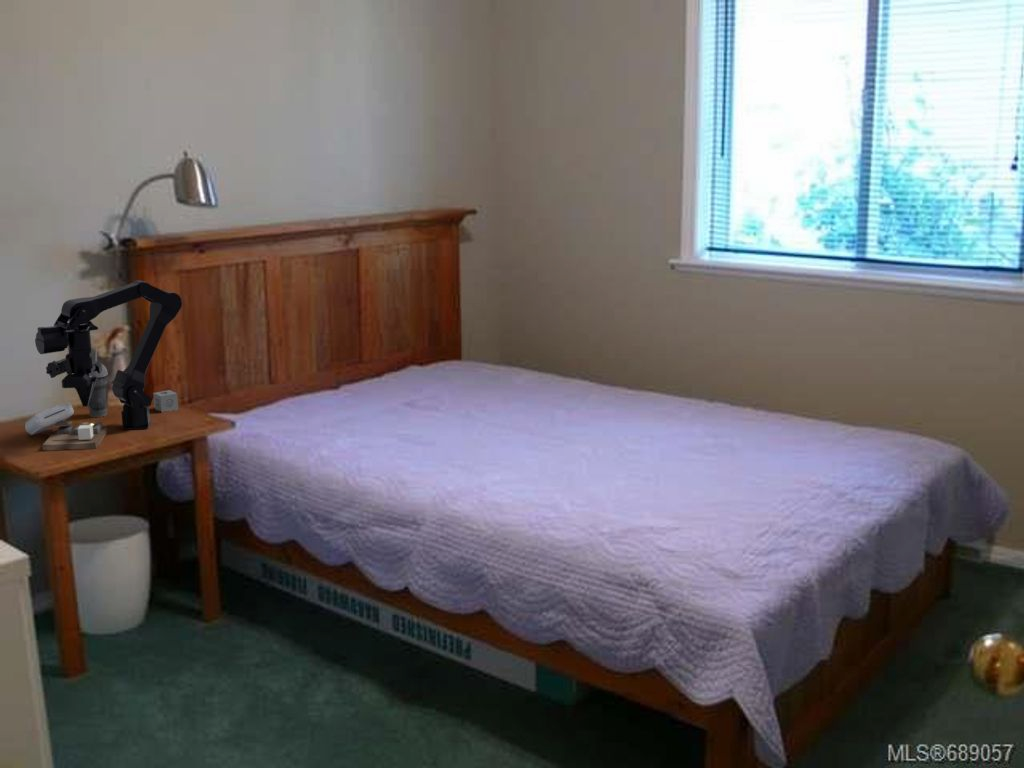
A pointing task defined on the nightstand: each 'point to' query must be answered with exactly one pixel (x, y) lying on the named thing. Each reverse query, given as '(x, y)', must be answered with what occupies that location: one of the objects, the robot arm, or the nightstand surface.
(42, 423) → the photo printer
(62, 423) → the rocker switch
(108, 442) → the nightstand surface
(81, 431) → the slider knob
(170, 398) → the dice cube
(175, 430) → the nightstand surface
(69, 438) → the control panel
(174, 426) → the nightstand surface
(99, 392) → the beverage cup
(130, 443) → the nightstand surface
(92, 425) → the brass button
